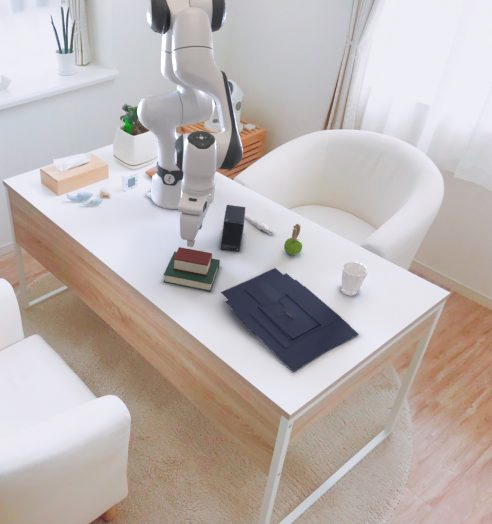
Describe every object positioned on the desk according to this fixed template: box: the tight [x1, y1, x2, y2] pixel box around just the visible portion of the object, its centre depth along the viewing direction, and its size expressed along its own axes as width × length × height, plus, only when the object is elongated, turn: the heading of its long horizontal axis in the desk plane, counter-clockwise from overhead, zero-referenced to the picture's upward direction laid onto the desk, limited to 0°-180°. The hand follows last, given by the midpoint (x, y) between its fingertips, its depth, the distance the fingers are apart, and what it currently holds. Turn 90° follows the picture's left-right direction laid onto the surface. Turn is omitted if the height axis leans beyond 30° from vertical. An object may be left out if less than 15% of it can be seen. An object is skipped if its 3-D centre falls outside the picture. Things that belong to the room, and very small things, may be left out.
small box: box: [219, 204, 246, 252], centre depth 181 cm, size 11×6×10 cm, turn 168°
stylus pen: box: [245, 214, 274, 236], centre depth 192 cm, size 15×3×2 cm, turn 36°
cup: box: [340, 261, 368, 297], centre depth 163 cm, size 7×10×8 cm
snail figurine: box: [283, 223, 303, 256], centre depth 176 cm, size 5×6×12 cm
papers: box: [220, 267, 359, 372], centre depth 154 cm, size 24×30×4 cm
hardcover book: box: [163, 251, 221, 293], centre depth 169 cm, size 12×14×3 cm
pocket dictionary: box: [173, 246, 213, 276], centre depth 167 cm, size 6×10×4 cm, turn 72°
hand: (194, 236), depth 162 cm, fingers open, 8 cm apart
